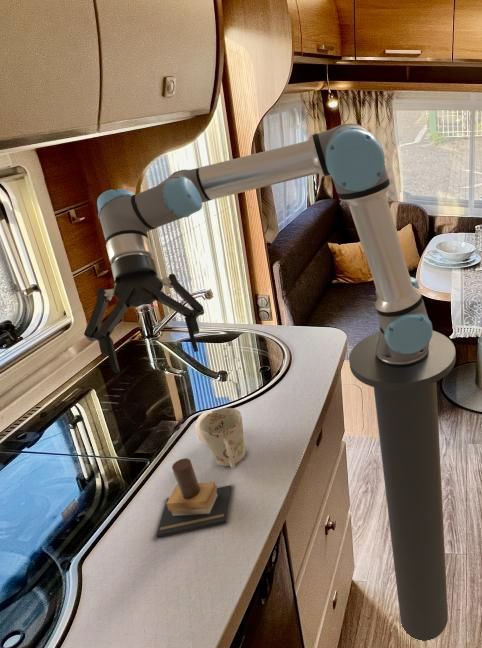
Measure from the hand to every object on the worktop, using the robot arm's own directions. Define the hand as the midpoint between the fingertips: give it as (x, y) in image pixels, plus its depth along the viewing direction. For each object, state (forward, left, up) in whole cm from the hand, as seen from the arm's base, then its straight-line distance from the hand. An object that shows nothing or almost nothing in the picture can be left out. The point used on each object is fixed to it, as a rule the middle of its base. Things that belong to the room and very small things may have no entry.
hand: (157, 360), depth 94 cm
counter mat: (-2, +12, -28) cm, 30 cm away
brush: (-2, +11, -27) cm, 29 cm away
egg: (-3, -9, -28) cm, 29 cm away
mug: (-8, 0, -28) cm, 29 cm away
